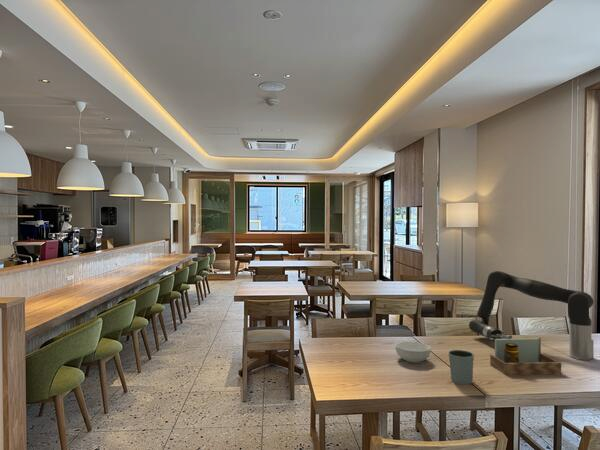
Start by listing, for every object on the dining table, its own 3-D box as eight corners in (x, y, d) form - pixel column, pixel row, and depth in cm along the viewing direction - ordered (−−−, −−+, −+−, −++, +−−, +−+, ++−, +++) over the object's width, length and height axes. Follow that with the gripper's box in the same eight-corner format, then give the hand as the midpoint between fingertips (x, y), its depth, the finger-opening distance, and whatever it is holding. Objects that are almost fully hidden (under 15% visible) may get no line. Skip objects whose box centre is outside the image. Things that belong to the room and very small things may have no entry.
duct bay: (542, 364, 195) (542, 353, 195) (561, 373, 182) (561, 362, 182) (490, 365, 194) (490, 354, 194) (505, 374, 181) (505, 363, 181)
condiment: (523, 371, 185) (523, 345, 185) (506, 372, 183) (506, 346, 183) (512, 366, 192) (512, 341, 192) (496, 367, 190) (496, 342, 191)
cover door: (539, 363, 196) (539, 337, 196) (541, 364, 195) (541, 338, 195) (494, 364, 195) (494, 337, 195) (496, 364, 194) (496, 338, 194)
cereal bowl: (436, 359, 201) (436, 345, 201) (421, 368, 189) (421, 353, 189) (405, 352, 213) (405, 339, 213) (389, 360, 201) (389, 346, 201)
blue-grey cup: (477, 385, 168) (477, 357, 169) (453, 385, 169) (453, 356, 169) (468, 376, 179) (468, 349, 179) (445, 376, 179) (445, 349, 179)
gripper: (481, 327, 225) (497, 335, 208) (504, 327, 226) (522, 335, 209) (481, 340, 225) (497, 350, 208) (504, 340, 226) (522, 349, 209)
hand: (510, 342), depth 208 cm, fingers closed
